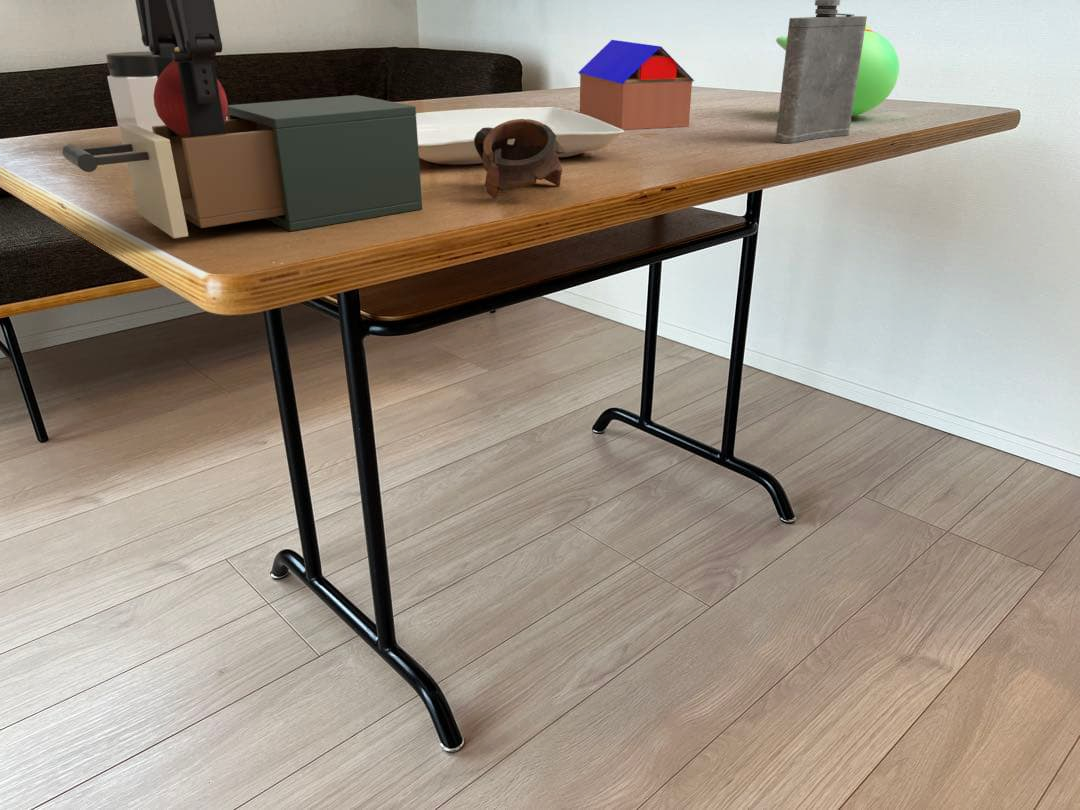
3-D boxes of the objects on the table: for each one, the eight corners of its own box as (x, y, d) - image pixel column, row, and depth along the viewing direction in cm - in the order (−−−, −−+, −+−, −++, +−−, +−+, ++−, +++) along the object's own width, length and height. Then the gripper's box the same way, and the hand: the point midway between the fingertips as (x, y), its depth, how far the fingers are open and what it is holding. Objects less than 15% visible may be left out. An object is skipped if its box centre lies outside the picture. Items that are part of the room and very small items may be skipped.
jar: (145, 141, 119) (126, 51, 114) (200, 141, 119) (184, 51, 114) (113, 152, 111) (91, 55, 106) (172, 152, 111) (153, 55, 106)
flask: (766, 140, 118) (782, -1, 110) (832, 131, 125) (851, -2, 117) (786, 143, 115) (804, -1, 107) (853, 134, 122) (874, -2, 114)
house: (641, 110, 147) (644, 39, 142) (691, 126, 130) (697, 45, 125) (577, 113, 144) (578, 40, 139) (620, 130, 127) (623, 47, 122)
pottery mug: (587, 192, 90) (582, 129, 83) (530, 244, 87) (520, 184, 80) (504, 151, 95) (493, 89, 88) (448, 200, 92) (432, 139, 85)
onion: (243, 141, 75) (228, 45, 71) (220, 152, 70) (202, 49, 66) (180, 141, 75) (161, 45, 72) (152, 152, 70) (130, 49, 66)
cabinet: (290, 231, 74) (274, 118, 70) (242, 207, 83) (225, 105, 78) (422, 209, 81) (415, 106, 77) (365, 188, 90) (356, 95, 86)
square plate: (554, 129, 128) (554, 103, 126) (626, 160, 104) (628, 127, 103) (377, 139, 120) (375, 111, 118) (413, 174, 97) (411, 139, 95)
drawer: (104, 249, 66) (80, 148, 62) (75, 223, 74) (52, 131, 70) (315, 215, 76) (304, 126, 72) (270, 195, 83) (257, 113, 80)
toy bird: (797, 125, 131) (810, 22, 124) (763, 111, 146) (773, 19, 139) (907, 123, 132) (926, 21, 126) (862, 109, 147) (877, 18, 141)
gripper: (233, -197, 57) (281, 149, 68) (155, -161, 71) (205, 123, 81) (117, -211, 53) (187, 159, 63) (58, -170, 67) (123, 130, 77)
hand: (197, 138), depth 72 cm, fingers open, 6 cm apart
